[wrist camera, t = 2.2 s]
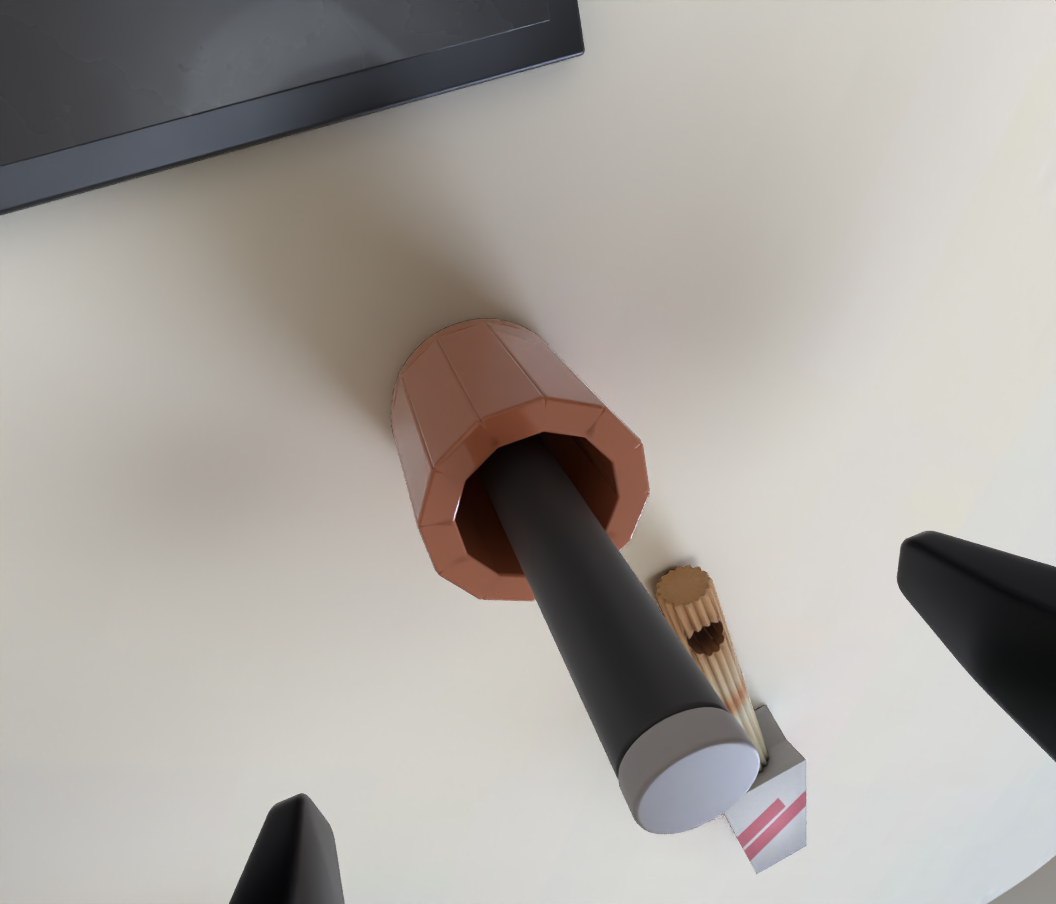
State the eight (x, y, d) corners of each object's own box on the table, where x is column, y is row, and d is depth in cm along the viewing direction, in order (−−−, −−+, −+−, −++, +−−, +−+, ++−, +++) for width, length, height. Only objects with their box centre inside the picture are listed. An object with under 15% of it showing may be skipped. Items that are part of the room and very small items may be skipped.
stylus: (463, 450, 16) (644, 854, 8) (445, 395, 16) (624, 781, 7) (523, 429, 17) (763, 798, 8) (508, 373, 16) (759, 719, 7)
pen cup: (423, 504, 17) (460, 633, 13) (363, 352, 15) (386, 452, 11) (578, 447, 18) (660, 553, 14) (545, 293, 16) (632, 365, 11)
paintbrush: (764, 911, 30) (651, 639, 19) (732, 854, 32) (616, 584, 22) (836, 872, 30) (762, 581, 20) (799, 817, 32) (715, 532, 22)
